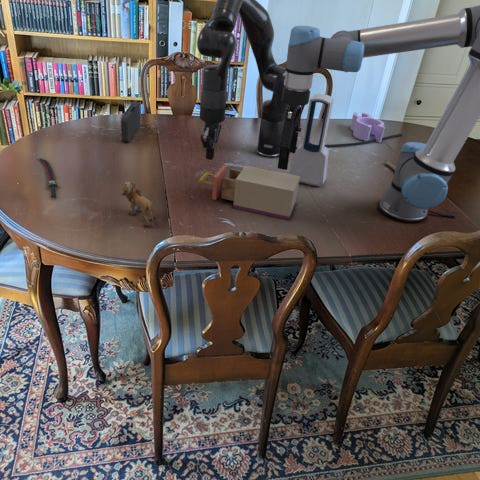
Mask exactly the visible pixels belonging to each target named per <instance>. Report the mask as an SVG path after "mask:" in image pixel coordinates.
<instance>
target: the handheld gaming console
mask: <svg viewBox="0 0 480 480" xmlns="http://www.w3.org/2000/svg"><path fill="white" fill-rule="evenodd" d="M120 125H121V126H120V127H121V128H120V131H121V141H122V142H123V143H129V142H130V141H131V139H132V138H133V136H134V134H136V131H137V130H138V129H139V127H140V125H141V103H140V101H132V103H131V104H130V105H129V107H128V108H127V109H126V111H124V113H123V115H122V116H121V117H120Z"/></svg>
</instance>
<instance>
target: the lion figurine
mask: <svg viewBox="0 0 480 480" xmlns="http://www.w3.org/2000/svg"><path fill="white" fill-rule="evenodd" d="M119 193H120V194H121V196H122V197H124V196H125V198H126V199H127V200H128V202H129V203H130V207H131V211H130V212H129V213H130V215H135V214H136V211H137V212H141V214H142V216H143V218H144V219H145V223H144V225H145V227H149V226H150V221H152V223H153V225H155V226H159V222H156V221H155V219H154V217H153V216H154V215H153V204H152V202H151V200H150V199H148V198H146V197H145V196H144V195H143V194H142V192H141V190H140V187H138V185H136V184H135V183H133V182H132V181H125V182H124V186H122V188H121V189H119ZM136 207H137V208H136ZM148 214H149V216H148Z"/></svg>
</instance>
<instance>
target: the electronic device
mask: <svg viewBox="0 0 480 480" xmlns="http://www.w3.org/2000/svg"><path fill="white" fill-rule="evenodd" d="M334 100H335V98H334V97H332V96H331V95H328V94H325V93H316V94H313V96H312V97H310V98H309V103H308V109H307V115H306V121H305V127H304V132H303V138H302V143H300V144H299V145H298V146H297V147H298V148H297V149H296V152H295V153H294V154H293V155H294V156H293V159H292V162H291V166H290V169H289V173H288V174H291V175H296V176H300V179H299V184H300V183H301V184H305V185H309V186H314V187H318V188H320V187H321V186H322V185H324V183H325V181H326V179H327V173H328V163H329V162H328V161H329V153H330V150H329V149H328V147H324V145H326V140H327V135H328V130H329V125H330V119H331V114H332V109H333V104H334ZM317 103H321V104H324V105H325V110H324V115H323V120H322V126H321V132H320V136H319V140H318V144H315V143H311V142H310V139H311V133H312V129H313V122H314V117H315V111H316V107H317Z"/></svg>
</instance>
